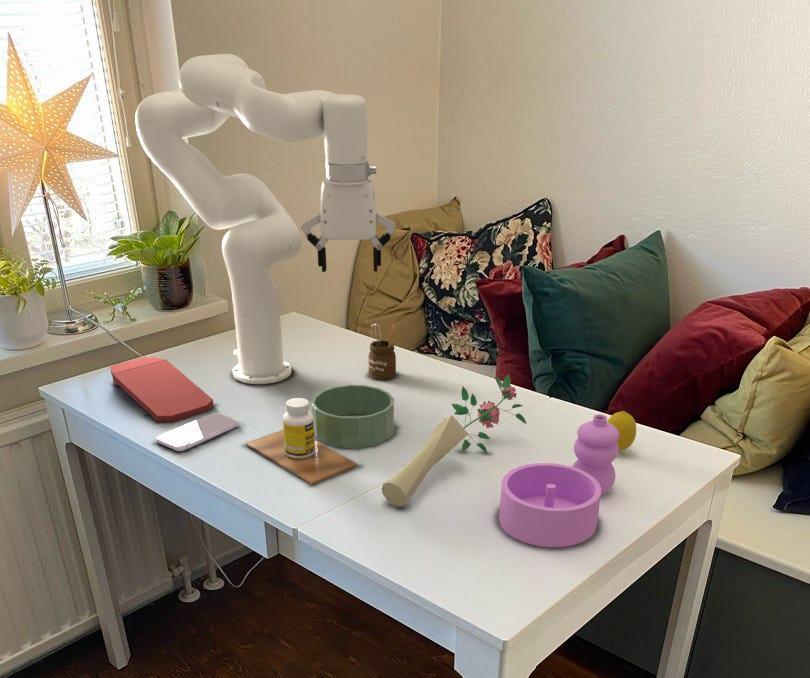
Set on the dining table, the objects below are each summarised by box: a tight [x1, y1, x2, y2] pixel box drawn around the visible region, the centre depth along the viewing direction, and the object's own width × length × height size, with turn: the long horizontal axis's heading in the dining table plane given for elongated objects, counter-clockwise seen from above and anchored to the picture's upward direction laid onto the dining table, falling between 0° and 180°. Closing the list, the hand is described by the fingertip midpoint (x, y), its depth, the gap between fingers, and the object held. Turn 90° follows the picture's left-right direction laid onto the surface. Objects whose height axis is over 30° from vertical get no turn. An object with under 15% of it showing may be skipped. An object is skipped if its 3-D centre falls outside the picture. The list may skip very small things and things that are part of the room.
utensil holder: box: [367, 323, 397, 381], centre depth 187 cm, size 6×6×12 cm
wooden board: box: [245, 429, 358, 486], centre depth 158 cm, size 20×10×1 cm, turn 42°
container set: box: [498, 414, 620, 548], centre depth 139 cm, size 25×15×13 cm, turn 140°
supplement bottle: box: [282, 397, 316, 459], centre depth 155 cm, size 5×5×10 cm
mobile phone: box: [155, 412, 240, 452], centre depth 165 cm, size 8×1×15 cm
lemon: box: [607, 410, 637, 452], centre depth 157 cm, size 6×6×8 cm
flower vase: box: [381, 374, 527, 508], centre depth 153 cm, size 12×12×35 cm
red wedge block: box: [109, 355, 214, 423], centre depth 179 cm, size 12×5×25 cm
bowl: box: [311, 384, 395, 449], centre depth 165 cm, size 15×15×6 cm
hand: (349, 270), depth 165 cm, fingers open, 9 cm apart
